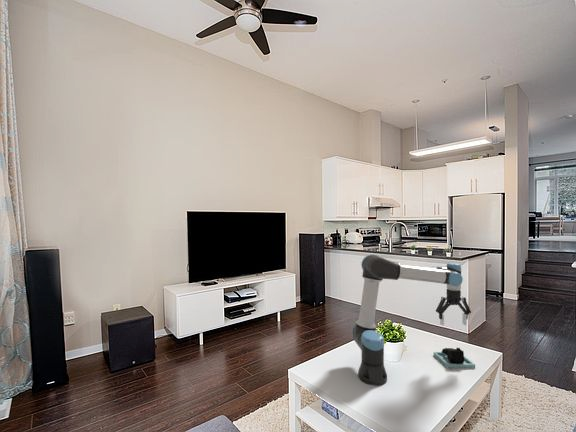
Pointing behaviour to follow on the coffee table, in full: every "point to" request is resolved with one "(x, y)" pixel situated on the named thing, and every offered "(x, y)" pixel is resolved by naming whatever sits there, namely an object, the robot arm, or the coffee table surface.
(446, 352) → the toy
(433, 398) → the coffee table surface
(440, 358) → the tray
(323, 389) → the coffee table surface
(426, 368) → the coffee table surface
